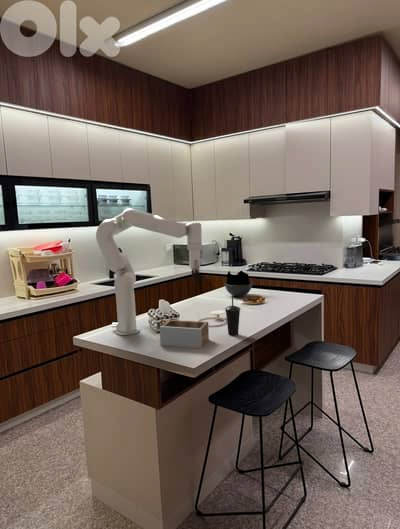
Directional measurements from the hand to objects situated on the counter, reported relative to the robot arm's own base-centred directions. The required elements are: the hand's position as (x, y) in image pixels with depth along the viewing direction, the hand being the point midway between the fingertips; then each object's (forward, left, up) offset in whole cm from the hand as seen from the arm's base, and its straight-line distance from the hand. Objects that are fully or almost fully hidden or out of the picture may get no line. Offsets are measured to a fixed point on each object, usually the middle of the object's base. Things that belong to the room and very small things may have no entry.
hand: (195, 279), depth 194 cm
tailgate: (+1, -29, -27) cm, 39 cm away
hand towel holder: (+5, +14, -28) cm, 31 cm away
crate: (+1, -22, -27) cm, 35 cm away
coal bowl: (+7, +80, -27) cm, 85 cm away
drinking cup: (+21, -6, -27) cm, 35 cm away
